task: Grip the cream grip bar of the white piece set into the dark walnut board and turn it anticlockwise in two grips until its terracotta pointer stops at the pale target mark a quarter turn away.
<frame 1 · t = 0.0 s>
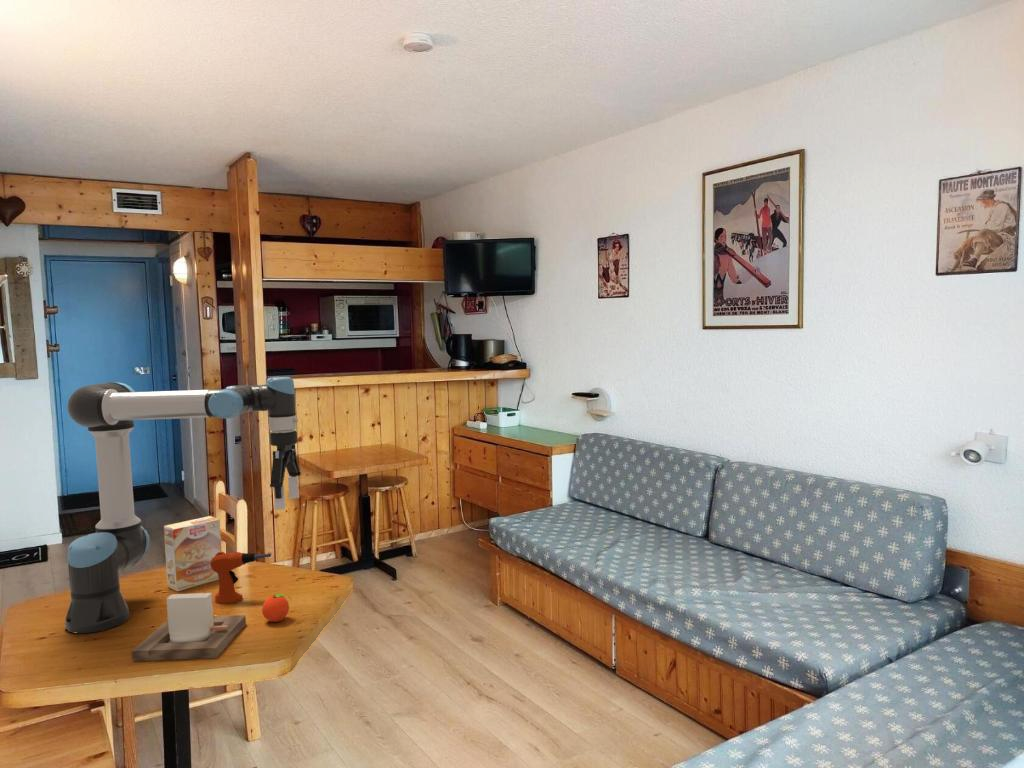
hand: (287, 503, 209), 28 cm above the table, tool pointing down, fingers open, 13 cm apart
coffeecake box: (195, 583, 227), on the table
toy drill: (243, 600, 211), on the table
white piece: (198, 616, 182), point 6 cm above the table, hinge at 0.0°
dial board: (192, 641, 183), on the table
clementine: (278, 621, 195), on the table
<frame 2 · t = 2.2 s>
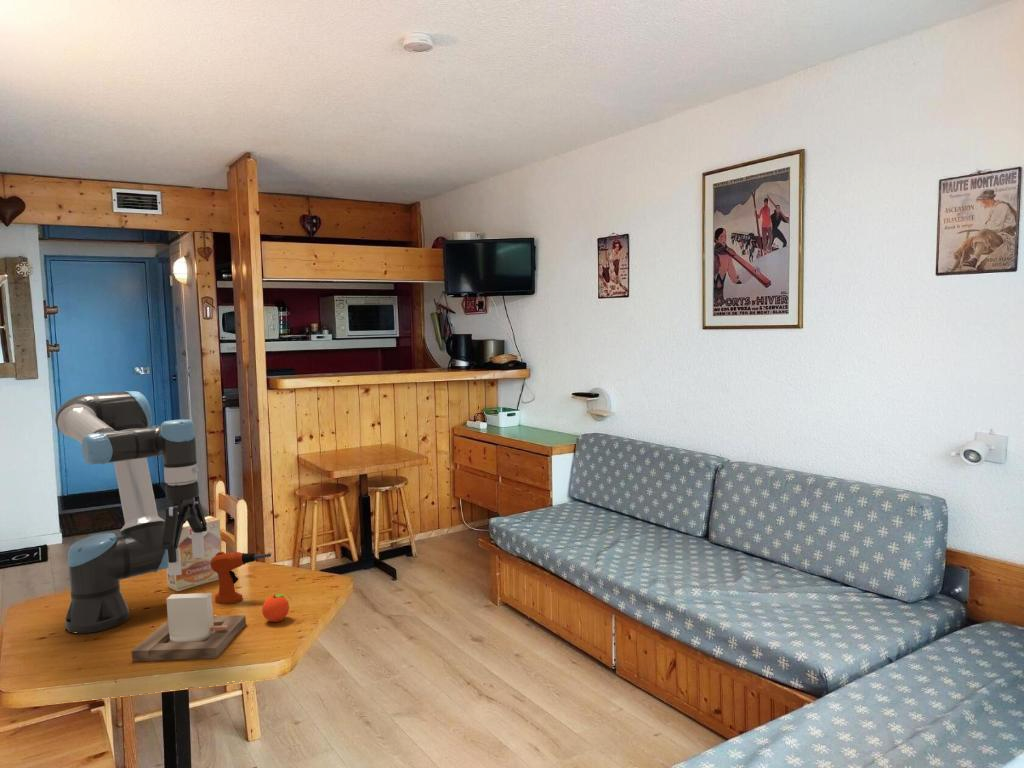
hand: (187, 565, 181), 20 cm above the table, tool pointing down, fingers open, 13 cm apart
nothing on the table moved.
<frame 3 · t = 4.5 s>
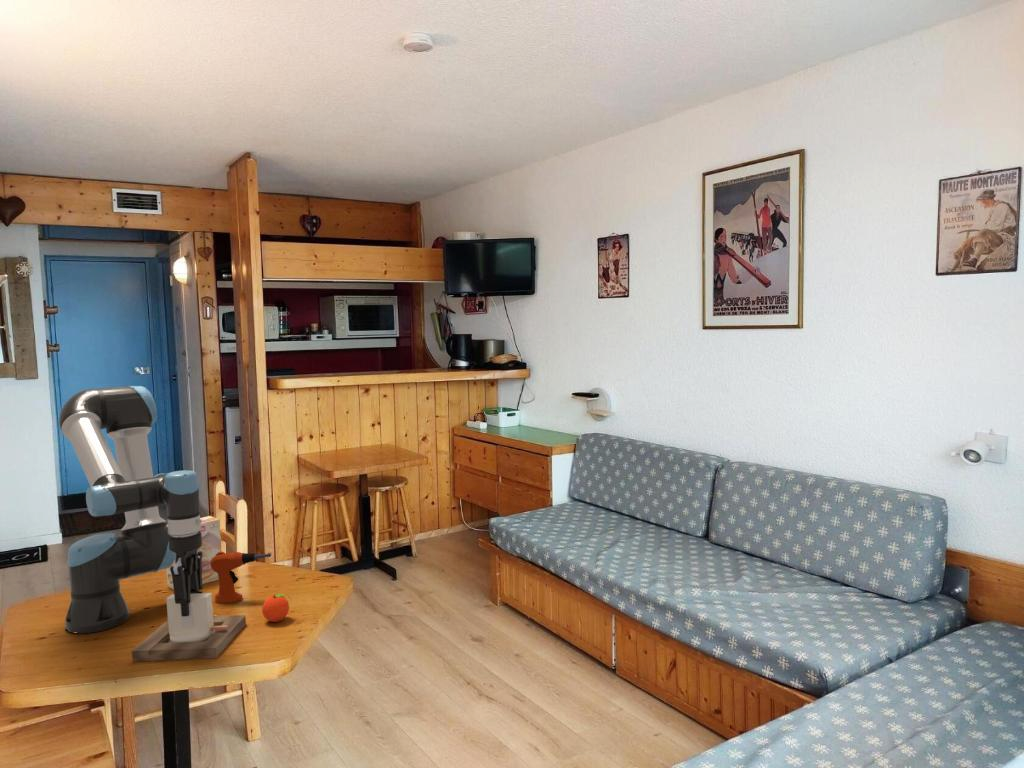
hand: (191, 624, 182), 5 cm above the table, tool pointing down, fingers closed on white piece, 3 cm apart
white piece: (198, 616, 182), point 6 cm above the table, hinge at 0.0°, touching gripper
everything else where it was.
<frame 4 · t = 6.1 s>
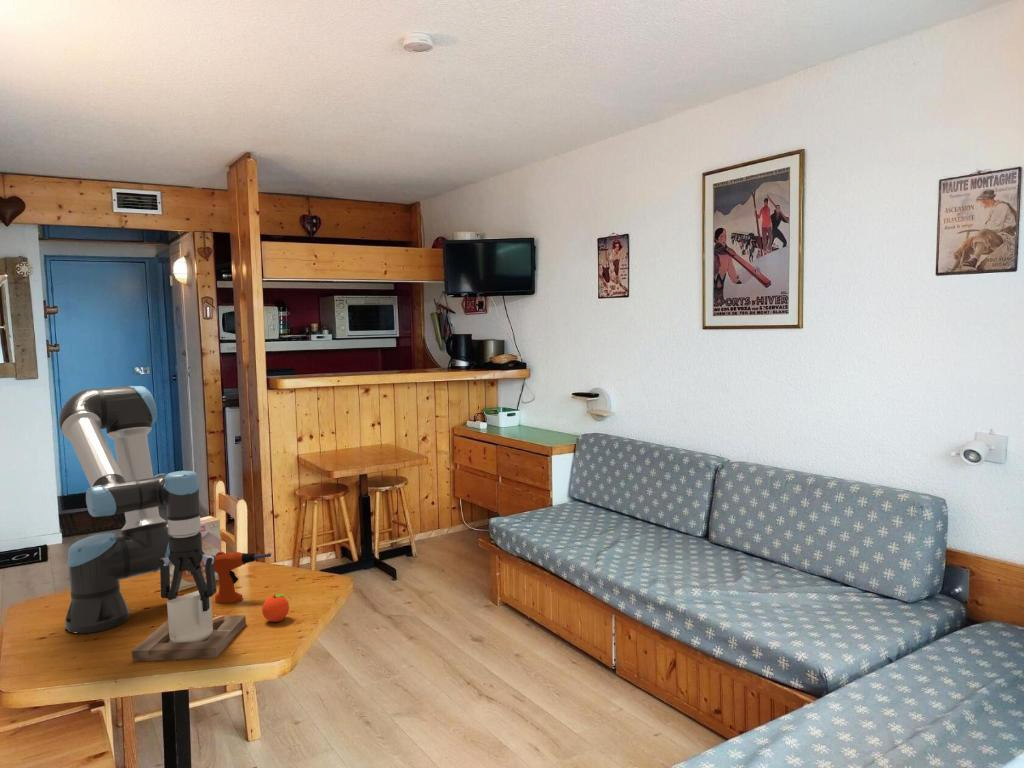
hand: (190, 623, 182), 5 cm above the table, tool pointing down, fingers closed on white piece, 6 cm apart
white piece: (197, 614, 184), point 6 cm above the table, hinge at 54.8°, touching gripper
everything else where it was.
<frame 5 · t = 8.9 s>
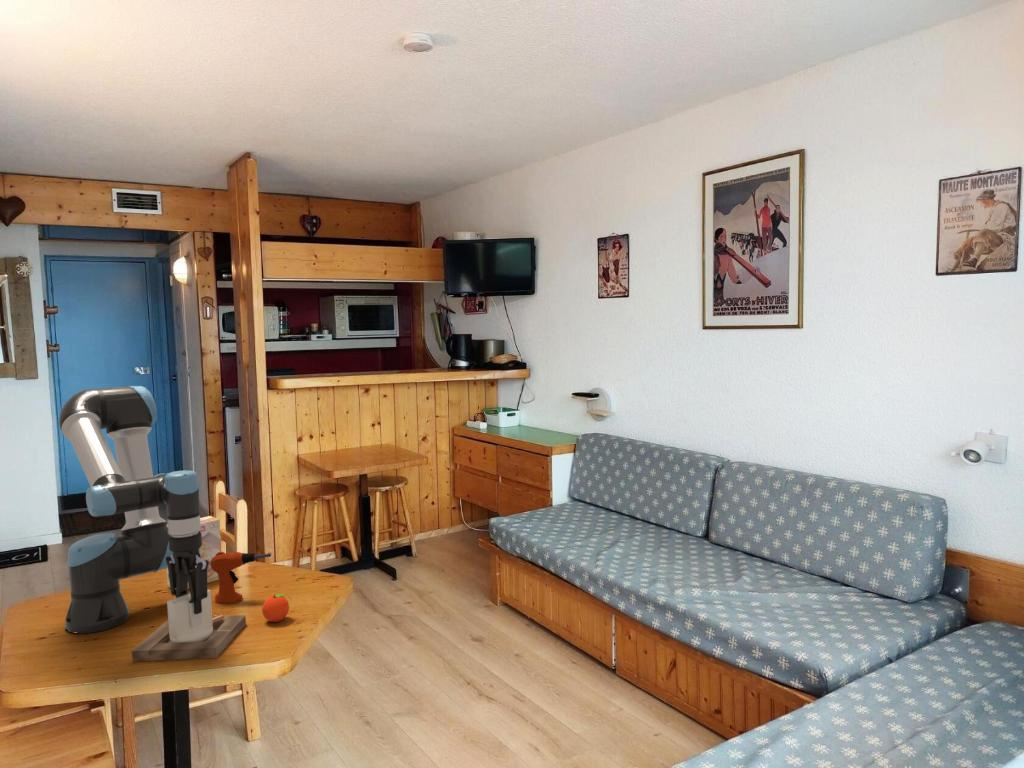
hand: (191, 624, 182), 5 cm above the table, tool pointing down, fingers closed on white piece, 3 cm apart
white piece: (197, 614, 184), point 6 cm above the table, hinge at 56.1°, touching gripper
everything else where it was.
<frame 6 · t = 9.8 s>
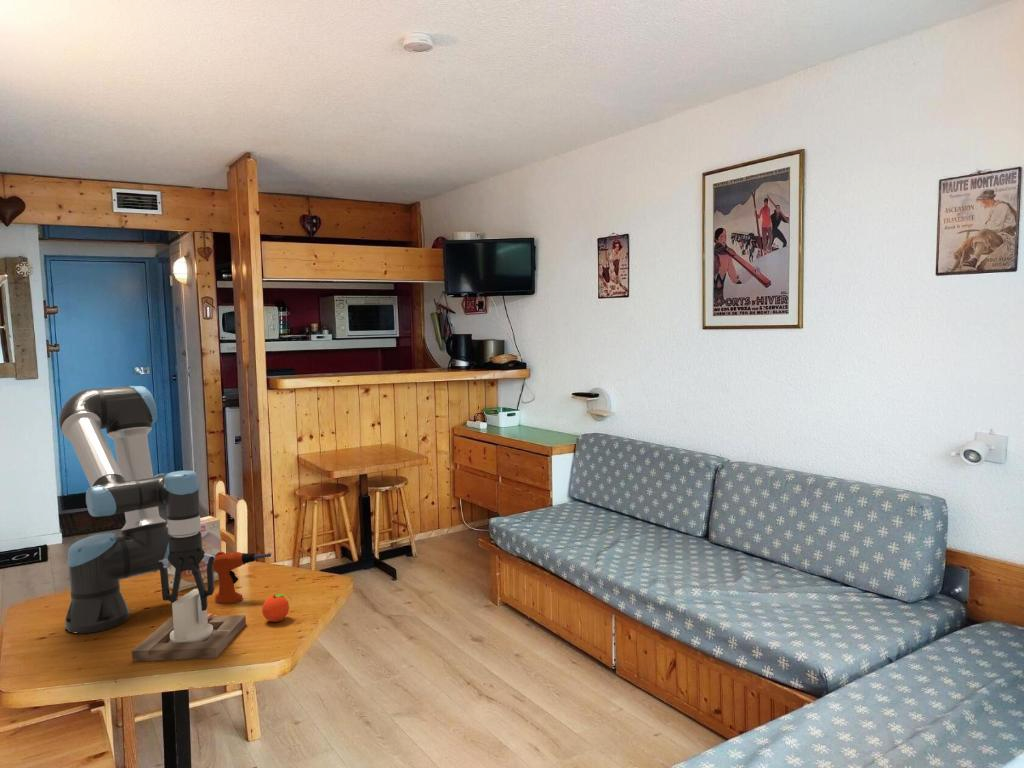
hand: (190, 624, 182), 5 cm above the table, tool pointing down, fingers closed on white piece, 4 cm apart
white piece: (195, 614, 184), point 6 cm above the table, hinge at 82.2°, touching gripper
everything else where it was.
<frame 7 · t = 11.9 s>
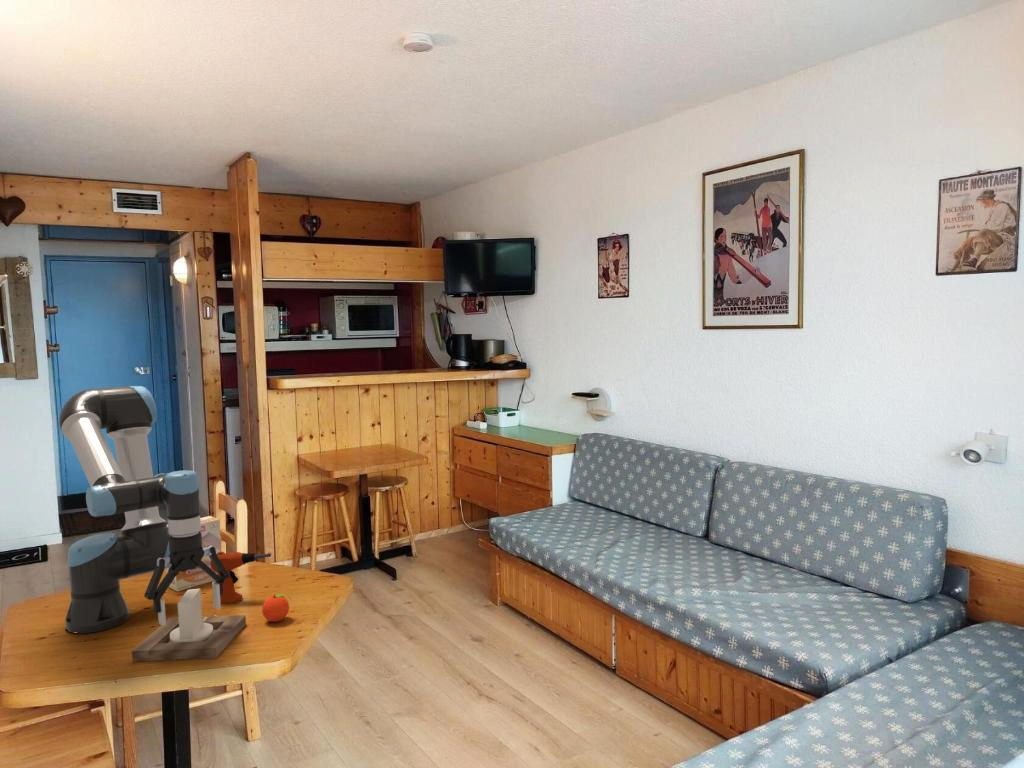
hand: (190, 615, 182), 7 cm above the table, tool pointing down, fingers open, 13 cm apart
white piece: (192, 614, 184), point 6 cm above the table, hinge at 100.0°
everything else where it was.
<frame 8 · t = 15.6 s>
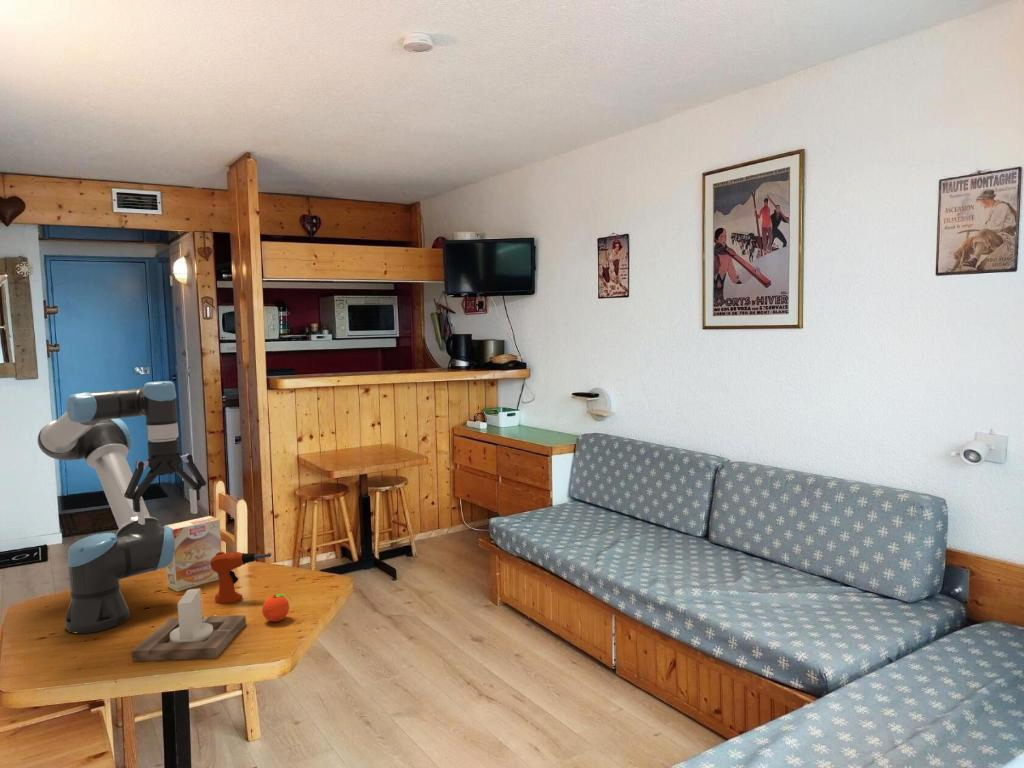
hand: (168, 518, 193), 29 cm above the table, tool pointing down, fingers open, 13 cm apart
nothing on the table moved.
at the end: white piece at +100° (first picture: +0°); the gripper is holding nothing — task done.
